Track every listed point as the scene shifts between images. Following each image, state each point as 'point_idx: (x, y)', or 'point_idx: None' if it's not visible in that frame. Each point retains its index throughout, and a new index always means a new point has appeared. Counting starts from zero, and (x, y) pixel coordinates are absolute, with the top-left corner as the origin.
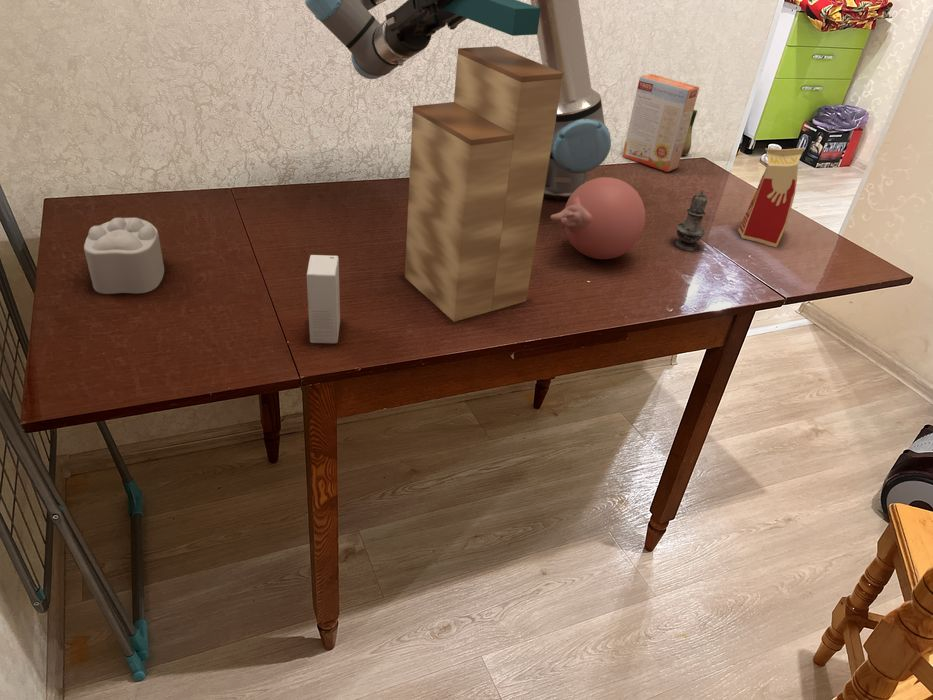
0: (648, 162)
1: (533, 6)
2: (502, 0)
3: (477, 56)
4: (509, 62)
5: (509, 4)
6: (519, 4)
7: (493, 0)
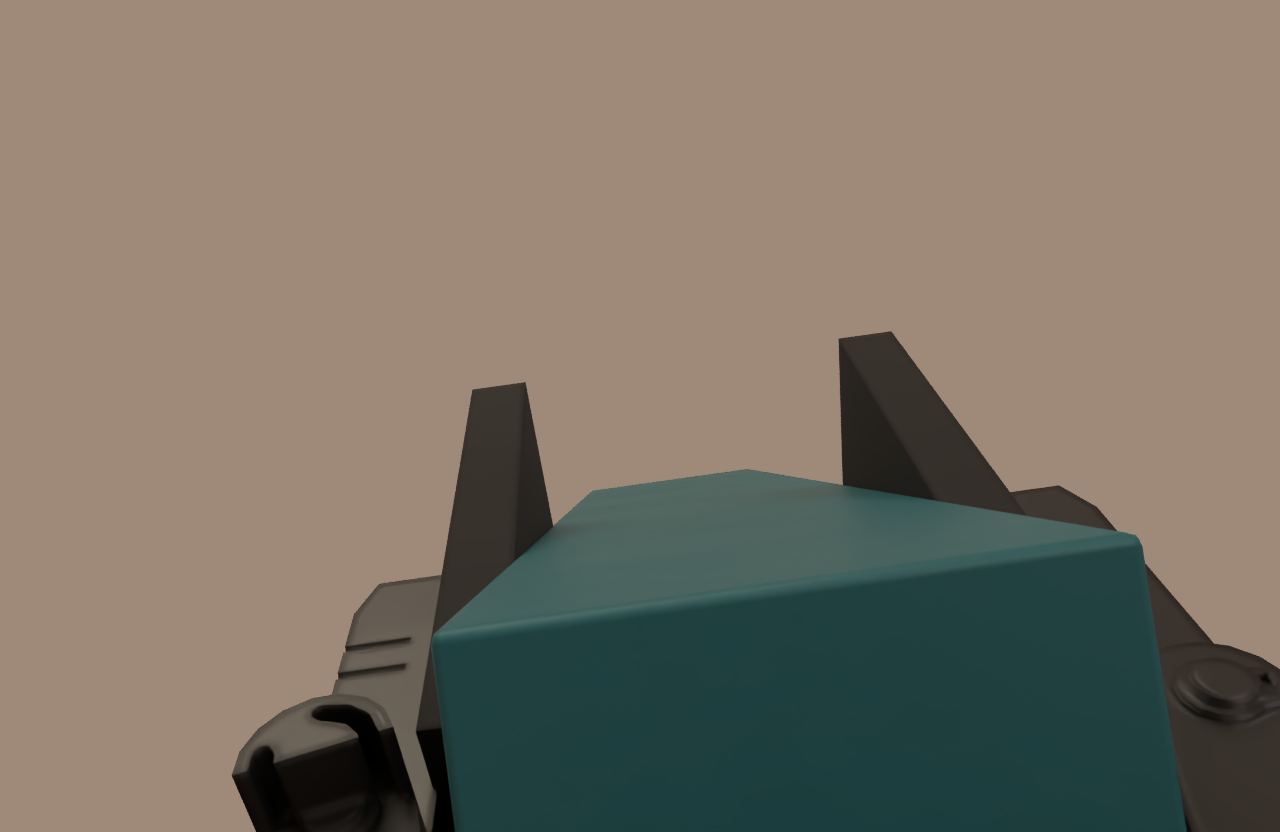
0: None
1: (606, 490)
2: (695, 484)
3: None
4: None
5: (722, 476)
6: (657, 485)
7: (764, 475)
